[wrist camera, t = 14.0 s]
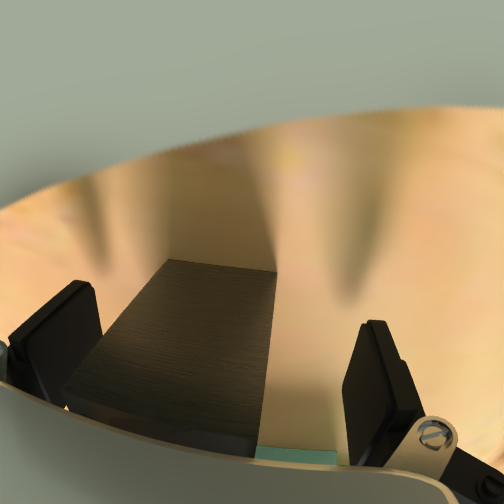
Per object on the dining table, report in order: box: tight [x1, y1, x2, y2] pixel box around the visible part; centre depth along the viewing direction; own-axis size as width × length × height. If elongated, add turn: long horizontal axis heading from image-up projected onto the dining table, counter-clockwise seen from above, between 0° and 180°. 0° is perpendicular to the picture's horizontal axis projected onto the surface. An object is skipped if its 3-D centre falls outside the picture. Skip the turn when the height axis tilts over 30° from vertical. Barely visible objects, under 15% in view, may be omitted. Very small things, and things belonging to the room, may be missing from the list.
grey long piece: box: [61, 259, 277, 458], centre depth 11 cm, size 16×6×7 cm, turn 176°
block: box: [254, 446, 337, 465], centre depth 14 cm, size 5×5×5 cm
